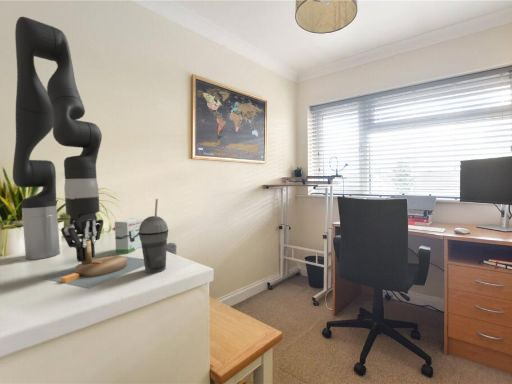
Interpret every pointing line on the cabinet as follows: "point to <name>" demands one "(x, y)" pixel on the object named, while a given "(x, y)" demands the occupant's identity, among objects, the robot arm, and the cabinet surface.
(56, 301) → the cabinet surface
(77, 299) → the cabinet surface
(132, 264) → the board
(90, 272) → the dial
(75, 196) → the robot arm
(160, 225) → the beverage cup
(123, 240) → the ink box
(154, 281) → the cabinet surface
